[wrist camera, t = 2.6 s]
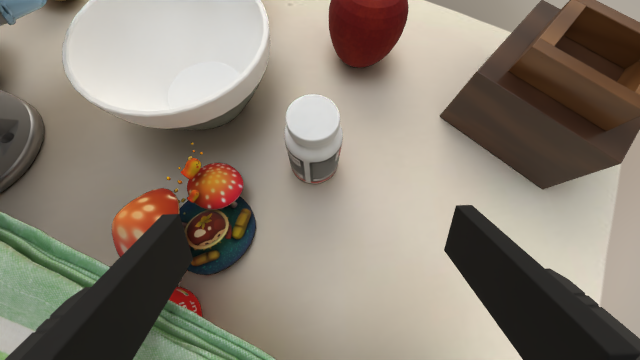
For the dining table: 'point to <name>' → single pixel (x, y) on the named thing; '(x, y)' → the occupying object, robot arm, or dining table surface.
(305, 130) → the pill bottle
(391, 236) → the dining table surface
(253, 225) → the figurine
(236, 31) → the bowl
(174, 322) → the dish towel
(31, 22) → the dining table surface
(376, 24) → the apple
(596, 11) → the socket stand
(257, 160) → the dining table surface
